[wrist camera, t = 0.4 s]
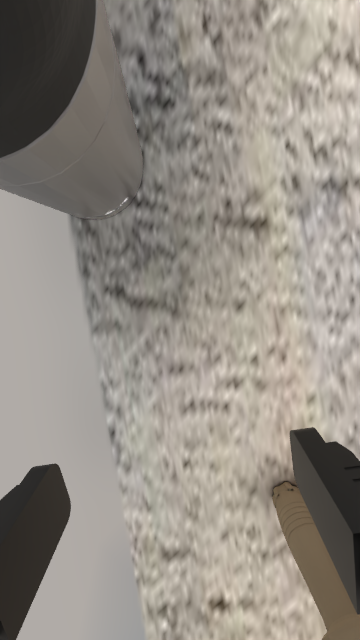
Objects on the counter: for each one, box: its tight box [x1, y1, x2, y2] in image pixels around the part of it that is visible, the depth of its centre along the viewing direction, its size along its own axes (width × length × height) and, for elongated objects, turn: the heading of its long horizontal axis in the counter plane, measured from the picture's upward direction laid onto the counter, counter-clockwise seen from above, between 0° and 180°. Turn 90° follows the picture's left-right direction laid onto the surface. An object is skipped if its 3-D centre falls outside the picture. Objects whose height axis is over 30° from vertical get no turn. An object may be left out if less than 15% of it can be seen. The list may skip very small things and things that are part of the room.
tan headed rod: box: [272, 482, 360, 640], centre depth 27 cm, size 5×6×15 cm
